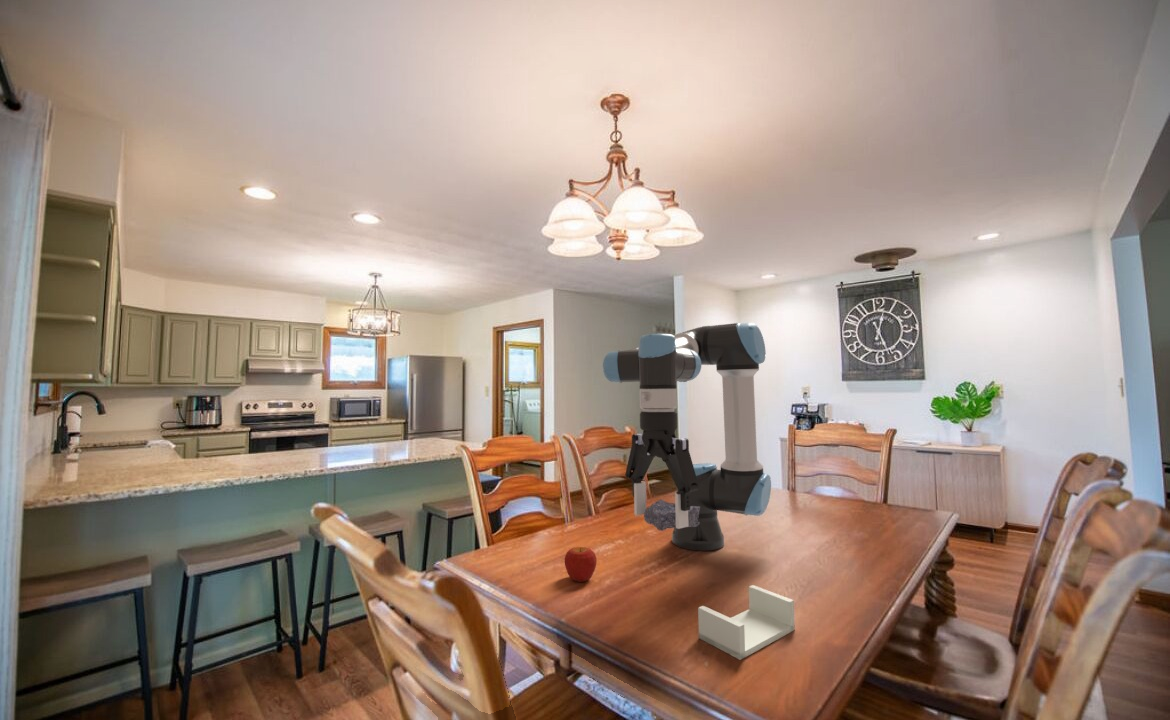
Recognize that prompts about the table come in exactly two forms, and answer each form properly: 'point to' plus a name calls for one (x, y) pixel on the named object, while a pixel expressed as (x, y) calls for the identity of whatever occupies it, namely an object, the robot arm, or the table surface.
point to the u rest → (748, 624)
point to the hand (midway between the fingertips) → (660, 520)
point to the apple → (580, 563)
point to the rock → (668, 515)
